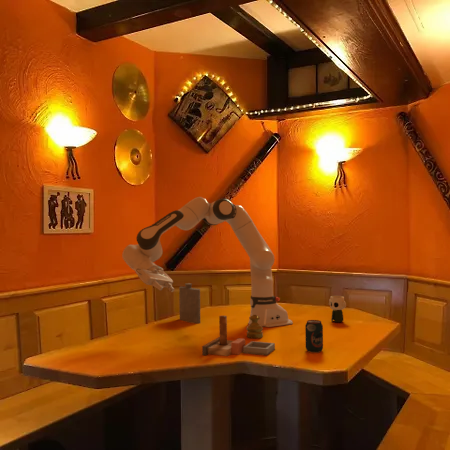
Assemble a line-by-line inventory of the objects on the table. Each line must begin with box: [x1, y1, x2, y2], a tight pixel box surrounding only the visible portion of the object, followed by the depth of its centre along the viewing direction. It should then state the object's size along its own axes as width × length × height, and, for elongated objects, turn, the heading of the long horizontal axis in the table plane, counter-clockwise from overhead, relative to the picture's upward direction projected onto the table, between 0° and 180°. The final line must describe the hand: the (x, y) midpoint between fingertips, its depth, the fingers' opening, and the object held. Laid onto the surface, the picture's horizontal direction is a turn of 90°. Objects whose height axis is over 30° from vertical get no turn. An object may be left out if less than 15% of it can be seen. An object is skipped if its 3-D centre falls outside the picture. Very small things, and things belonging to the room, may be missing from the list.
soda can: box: [304, 319, 324, 354], centre depth 204 cm, size 7×7×12 cm
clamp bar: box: [201, 336, 220, 356], centre depth 208 cm, size 2×19×4 cm, turn 157°
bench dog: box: [230, 337, 246, 355], centre depth 203 cm, size 3×8×4 cm, turn 157°
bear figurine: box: [328, 295, 347, 323], centre depth 261 cm, size 11×7×13 cm, turn 38°
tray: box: [242, 340, 276, 356], centre depth 204 cm, size 10×10×2 cm
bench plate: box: [208, 339, 234, 357], centre depth 206 cm, size 10×14×2 cm
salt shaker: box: [246, 315, 264, 340], centre depth 229 cm, size 7×7×10 cm
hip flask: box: [178, 282, 201, 324], centre depth 266 cm, size 16×4×20 cm, turn 41°
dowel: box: [218, 315, 228, 346], centre depth 206 cm, size 3×3×14 cm
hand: (167, 289), depth 223 cm, fingers open, 8 cm apart
